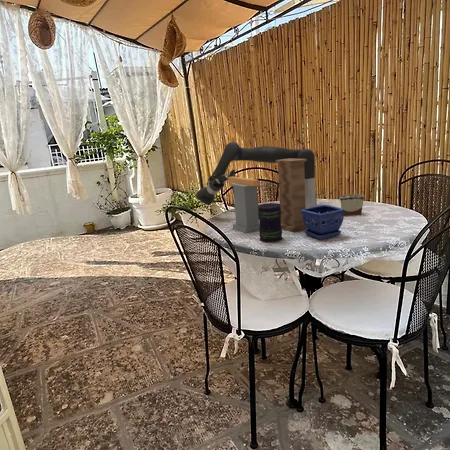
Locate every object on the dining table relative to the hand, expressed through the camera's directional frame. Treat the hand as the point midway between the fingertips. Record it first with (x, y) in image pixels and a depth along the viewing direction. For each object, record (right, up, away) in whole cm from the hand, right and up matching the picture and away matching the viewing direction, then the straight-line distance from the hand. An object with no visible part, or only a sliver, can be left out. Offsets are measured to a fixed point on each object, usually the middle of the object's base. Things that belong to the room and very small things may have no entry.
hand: (227, 172), depth 182 cm
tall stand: (+31, -28, -12) cm, 44 cm away
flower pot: (+41, -32, -28) cm, 59 cm away
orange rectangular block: (+8, -7, -11) cm, 16 cm away
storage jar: (+19, -33, -26) cm, 46 cm away
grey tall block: (+10, -29, -7) cm, 31 cm away
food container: (+64, -22, +2) cm, 67 cm away
